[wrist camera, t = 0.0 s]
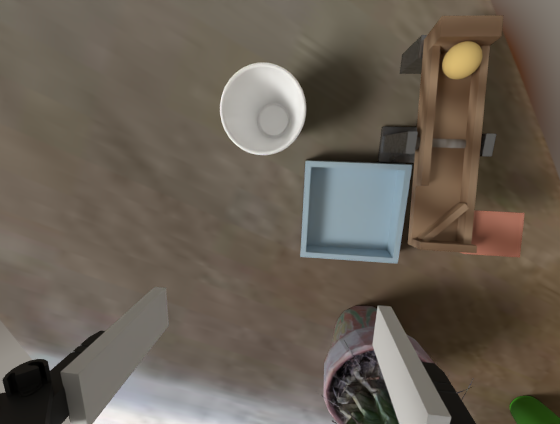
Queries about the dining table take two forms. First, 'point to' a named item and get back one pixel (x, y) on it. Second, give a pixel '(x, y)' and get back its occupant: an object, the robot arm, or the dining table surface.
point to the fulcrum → (414, 144)
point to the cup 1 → (263, 108)
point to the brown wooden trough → (455, 150)
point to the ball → (462, 60)
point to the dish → (354, 210)
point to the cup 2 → (532, 411)
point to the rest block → (413, 57)
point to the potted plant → (359, 372)
